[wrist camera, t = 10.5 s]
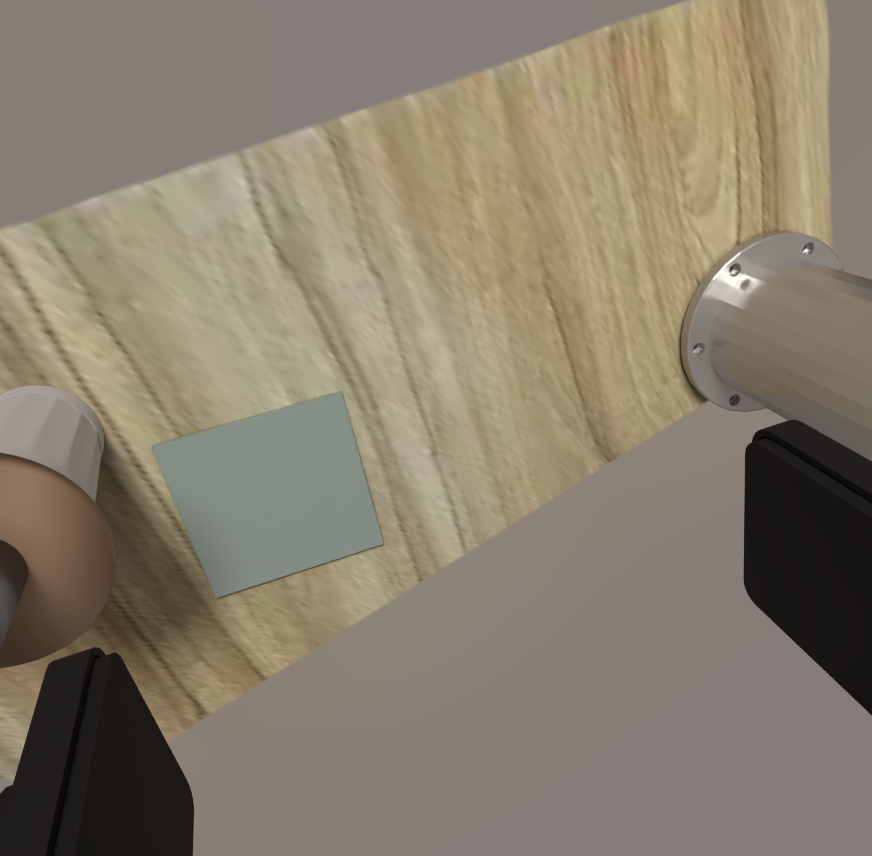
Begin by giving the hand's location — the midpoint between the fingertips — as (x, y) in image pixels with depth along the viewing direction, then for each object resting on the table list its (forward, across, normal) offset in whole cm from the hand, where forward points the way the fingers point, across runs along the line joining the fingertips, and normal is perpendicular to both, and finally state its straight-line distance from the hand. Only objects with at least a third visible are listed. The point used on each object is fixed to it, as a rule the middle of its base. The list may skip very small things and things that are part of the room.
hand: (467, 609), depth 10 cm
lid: (+21, +16, +8) cm, 28 cm away
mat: (+33, +5, +16) cm, 37 cm away
